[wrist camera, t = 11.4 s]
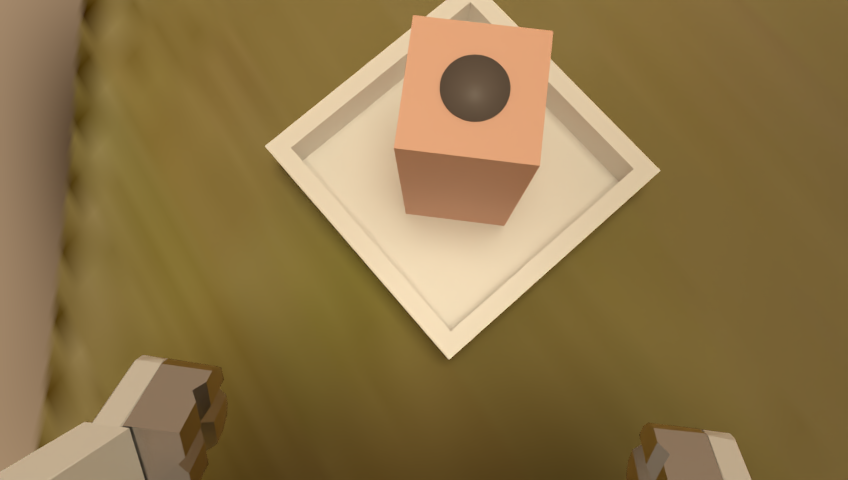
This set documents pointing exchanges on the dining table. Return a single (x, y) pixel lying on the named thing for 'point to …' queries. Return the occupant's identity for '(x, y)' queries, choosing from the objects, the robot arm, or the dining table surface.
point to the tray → (446, 238)
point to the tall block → (471, 118)
